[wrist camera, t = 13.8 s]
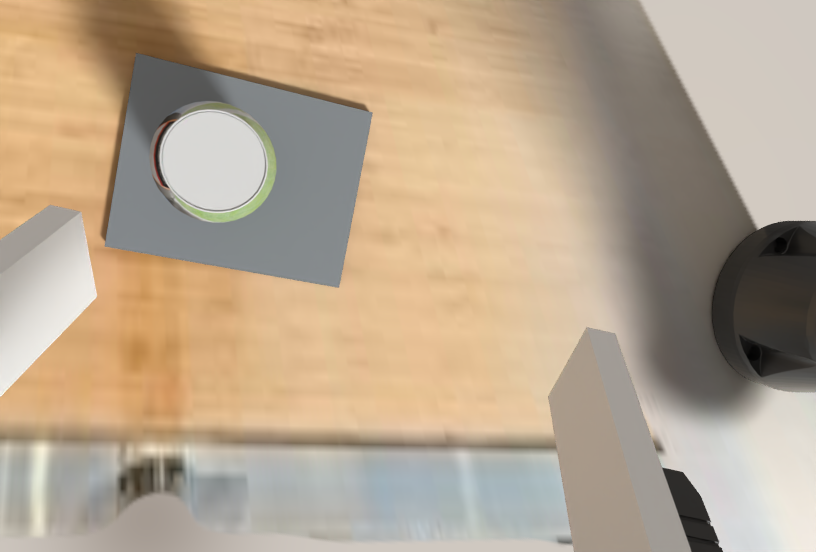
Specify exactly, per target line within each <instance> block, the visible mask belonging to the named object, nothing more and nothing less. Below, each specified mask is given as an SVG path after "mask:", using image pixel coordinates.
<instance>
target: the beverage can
mask: <svg viewBox="0 0 816 552" xmlns="http://www.w3.org/2000/svg"><path fill="white" fill-rule="evenodd" d="M149 157H150V168H151V172H152V176H153V179H154V181H155V183H156V185H157V187H158V189H159V190H160V192H161V193H162V195H163V196H164V198H165V199H166V200H167V201H168V202H169V203H170V204H171V205H172V206H174V207H175V208H176V209H178V210H179V211H180V212H182V213H184V214H186V215H188V216H190V217H192V218H195V219H198V220H201V221H206V222H213V223H214V222H229V221H234V220H237V219H240V218H243V217H245V216H247V215H248V214H250V213H252V212H253V211H255V210H256V209H257V208H258V207H259V206H261V204H262V203H263V202H264V201H265V200H266V198H267V197H268V195H269V193H270V191H271V190H272V187H273V184H274V181H275V176H276V157H275V152H274V148H273V145H272V143H271V140H270V138H269V137H268V135H267V133H266V132H265V130H264V129H263V128H262V126H261V125H260V124H259V123H258V122H257V121H256V120H255V119H254V118H253V117H251V116H250V115H249V114H248V113H246V112H244V111H243V110H241V109H239V108H237V107H235V106H232V105H230V104H226V103H222V102H216V101H201V102H194V103H191V104H188V105H184V106H183V107H181V108H179V109H177V110H175V111H174V112H172V113H171V114H170V115H168V116H167V117H166V118H165V119H164V120H163V122H162V123H161V124H160V125H159V127H158V129H157V130H156V132H155V134H154V136H153V139H152V143H151V147H150V155H149Z"/></svg>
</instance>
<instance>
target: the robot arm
mask: <svg viewBox="0 0 816 552" xmlns="http://www.w3.org/2000/svg"><path fill="white" fill-rule="evenodd" d="M96 297H97V294H96V288H95V283H94V278H93V272H92V267H91V262H90V256H89V251H88V246H87V241H86V235H85V230H84V225H83V219H82V214H81V212H79V211H75V210H70V209H66V208H62V207H57V206H53V205H49V206H48V207H46V208H45V209H44V210H42V211H41V212H39V213H38V214H36V215H35V216H34V217H32V218H31V219H29V220H28V221H26V222H25V223H24V224H22V225H21V226H19V227H18V228H16V229H15V230H14V231H12V232H11V233H9V234H8V235H6V236H5V237H3V238H2V239H1V240H0V397H1V396H2V395H3V394H4V392H5V391H6V390H7V389H8V388H9V387H10V386H11V385H12V384H13V383H14V382H15V381H16V380H17V379H18V378H19V377H20V376H21V375H22V374H23V373H24V372H25V371H26V370H27V369H28V368H29V367H30V366H31V365H32V364H33V362H34V361H35V360H36V359H37V358H38V357H39V356H40V355H41V354H42V353H43V352H44V351H45V350H46V349H47V348H48V347H49V346H50V345H51V344H52V343H53V342H54V341H55V340H56V339H57V338H58V337H59V336H60V335H61V333H62V332H63V331H64V330H65V329H66V328H67V327H68V326H69V325H70V324H71V323H72V322H73V321H74V320H75V319H76V318H77V317H78V316H79V315H80V314H81V313H82V312H83V311H84V310H85V309H86V308H87V307H88V306H89V305H90V303H91V302H92V301H93V300H94V299H95V298H96ZM712 316H713V327H714V332H715V336H716V340H717V343H718V345H719V348H720V350H721V352H722V354H723V355H724V357H725V358H726V360H727V361H728V363H729V364H730V365H731V366H732V367H733V368H734V369H735V370H736V371H737V372H738V373H739V374H741V375H742V376H744V377H745V378H747V379H749V380H751V381H754V382H756V383H759V384H762V385H765V386H768V387H771V388H774V389H777V390H782V391H788V392H816V221H783V222H778V223H774V224H771V225H768V226H765V227H763V228H761V229H759V230H757V231H756V232H754V233H753V234H751V235H750V236H749V237H747V238H746V239H745V240H744V241H743V242H742V243H741V244H740V245H739V246H738V247H737V248H736V249H735V250H734V252H733V253H732V254H731V256H730V257H729V259H728V260H727V262H726V264H725V266H724V267H723V270H722V272H721V274H720V276H719V279H718V282H717V285H716V289H715V293H714V299H713V314H712ZM548 398H549V404H550V410H551V416H552V422H553V428H554V434H555V440H556V446H557V452H558V458H559V464H560V470H561V476H562V482H563V488H564V494H565V500H566V506H567V512H568V518H569V524H570V530H571V536H572V542H573V548H574V552H723V551H722V548H721V547H719V545H718V544H719V541H718V538H717V536H716V533H715V531H714V528H713V526H711V525H710V522H711V521H710V518H709V516H708V513H707V511H706V508H705V506H704V503H703V501H702V498H701V496H700V494H699V493H698V492H697V490H696V489H695V488H694V486H693V485H692V484H691V482H690V481H689V480H688V478H687V477H686V476H685V474H684V473H683V472H680V471H675V470H670V469H666V468H662V466H661V463H660V460H659V458H658V455H657V452H656V449H655V446H654V443H653V441H652V438H651V435H650V432H649V429H648V426H647V423H646V421H645V418H644V415H643V412H642V409H641V406H640V403H639V401H638V398H637V395H636V392H635V389H634V386H633V383H632V381H631V378H630V375H629V372H628V369H627V366H626V364H625V361H624V358H623V355H622V352H621V349H620V346H619V344H618V341H617V338H616V335H615V334H614V333H610V332H606V331H601V330H597V329H593V328H588V327H587V328H586V330H585V331H584V333H583V335H582V337H581V339H580V340H579V342H578V344H577V346H576V348H575V349H574V351H573V353H572V355H571V356H570V358H569V360H568V362H567V364H566V365H565V367H564V369H563V371H562V373H561V374H560V376H559V378H558V380H557V382H556V383H555V385H554V387H553V389H552V390H551V392H550V394H549V396H548Z"/></svg>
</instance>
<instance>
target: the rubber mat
mask: <svg viewBox="0 0 816 552" xmlns="http://www.w3.org/2000/svg"><path fill="white" fill-rule="evenodd" d="M201 101H216V102H222V103H226V104H230V105H232V106H235V107H237V108H239V109H241V110H243V111H244V112H246V113H248V114H249V115H250V116H251V117H253V118H254V119H255V120H256V121H257V122H258V123H259V124H260V125H261V126H262V128H263V129H264V130H265V132H266V133H267V135H268V137H269V138H270V140H271V143H272V145H273V148H274V152H275V157H276V176H275V181H274V184H273V187H272V190H271V191H270V193H269V195H268V197H267V198H266V200H265V201H264V202H263V203H262V204H261V206H259V207H258V208H257V209H256V210H255V211H253V212H252V213H250V214H248V215H247V216H245V217H243V218H240V219H237V220H234V221H229V222H214V223H213V222H206V221H201V220H198V219H195V218H192V217H190V216H188V215H186V214H184V213H182V212H180V211H179V210H178V209H176V208H175V207H174V206H172V205H171V204H170V203H169V202H168V201H167V200H166V199H165V198H164V196H163V195H162V193H161V192H160V190H159V189H158V187H157V185H156V183H155V181H154V179H153V176H152V172H151V168H150V157H149V155H150V147H151V143H152V139H153V136H154V134H155V132H156V130H157V129H158V127H159V125H160V124H161V123H162V122H163V120H164V119H165V118H166V117H167V116H168V115H170V114H171V113H172V112H174V111H175V110H177V109H179V108H181V107H183V106H184V105H188V104H191V103H194V102H201ZM371 118H372V112H368V111H364V110H360V109H356V108H352V107H348V106H344V105H340V104H336V103H332V102H328V101H325V100H321V99H317V98H313V97H309V96H305V95H301V94H297V93H293V92H289V91H285V90H281V89H277V88H273V87H269V86H265V85H261V84H257V83H253V82H249V81H245V80H241V79H237V78H233V77H229V76H226V75H222V74H218V73H214V72H210V71H206V70H202V69H198V68H194V67H190V66H186V65H182V64H178V63H174V62H170V61H166V60H162V59H158V58H154V57H150V56H146V55H142V54H138V53H136V57H135V63H134V69H133V75H132V81H131V88H130V94H129V100H128V106H127V112H126V118H125V124H124V131H123V137H122V143H121V149H120V155H119V161H118V167H117V174H116V180H115V186H114V192H113V198H112V204H111V211H110V217H109V223H108V229H107V235H106V241H105V247H111V248H117V249H122V250H128V251H134V252H139V253H145V254H151V255H156V256H162V257H168V258H173V259H179V260H185V261H190V262H196V263H202V264H207V265H213V266H219V267H224V268H230V269H236V270H241V271H247V272H253V273H259V274H264V275H270V276H276V277H281V278H287V279H293V280H298V281H304V282H310V283H315V284H321V285H327V286H332V287H338V288H339V285H340V280H341V274H342V269H343V264H344V259H345V254H346V248H347V243H348V238H349V233H350V228H351V222H352V217H353V212H354V207H355V202H356V196H357V191H358V186H359V181H360V176H361V170H362V165H363V160H364V155H365V150H366V144H367V139H368V134H369V129H370V124H371Z"/></svg>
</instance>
